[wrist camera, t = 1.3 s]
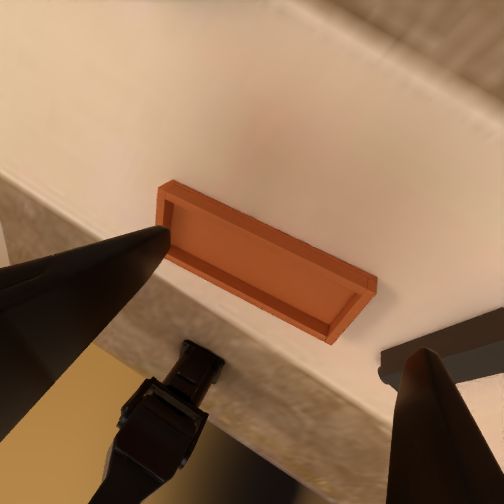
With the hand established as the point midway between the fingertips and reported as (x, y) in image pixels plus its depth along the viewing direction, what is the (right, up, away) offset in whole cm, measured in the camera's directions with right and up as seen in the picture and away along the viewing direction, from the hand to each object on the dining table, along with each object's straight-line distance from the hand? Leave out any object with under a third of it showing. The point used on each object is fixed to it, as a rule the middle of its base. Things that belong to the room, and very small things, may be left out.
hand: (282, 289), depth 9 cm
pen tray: (-1, +1, +17) cm, 17 cm away
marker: (+16, -6, +13) cm, 22 cm away
